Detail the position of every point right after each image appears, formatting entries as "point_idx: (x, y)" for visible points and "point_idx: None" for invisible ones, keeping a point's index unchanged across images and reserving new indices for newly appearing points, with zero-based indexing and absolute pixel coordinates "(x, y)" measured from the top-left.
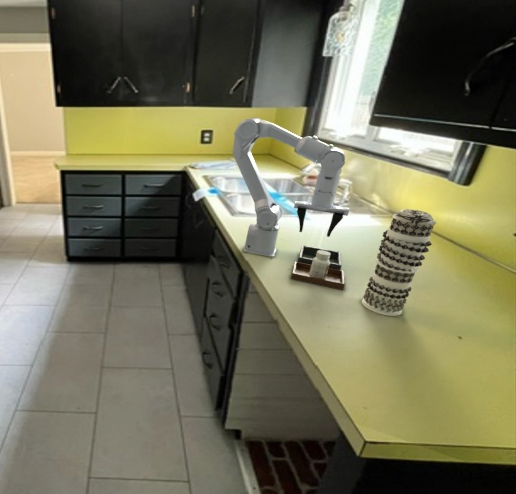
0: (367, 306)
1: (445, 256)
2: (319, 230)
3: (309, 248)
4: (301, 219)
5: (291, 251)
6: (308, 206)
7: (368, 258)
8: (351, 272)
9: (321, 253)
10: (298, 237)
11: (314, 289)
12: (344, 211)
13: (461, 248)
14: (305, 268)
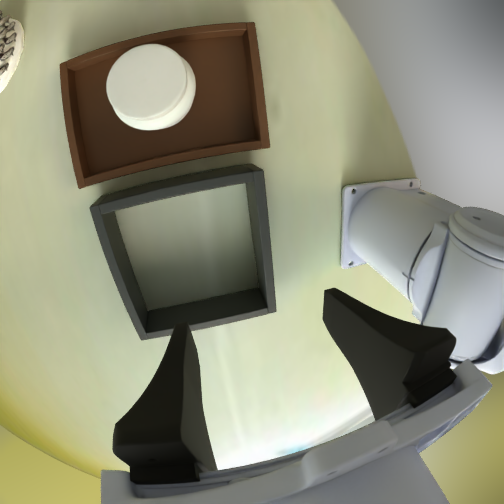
0: (15, 20)
1: (37, 431)
2: (248, 436)
3: (245, 308)
4: (389, 325)
5: (293, 286)
6: (435, 413)
7: (95, 374)
8: (77, 247)
9: (156, 54)
10: (287, 385)
11: (156, 4)
12: (127, 500)
13: (49, 455)
14: (217, 144)
